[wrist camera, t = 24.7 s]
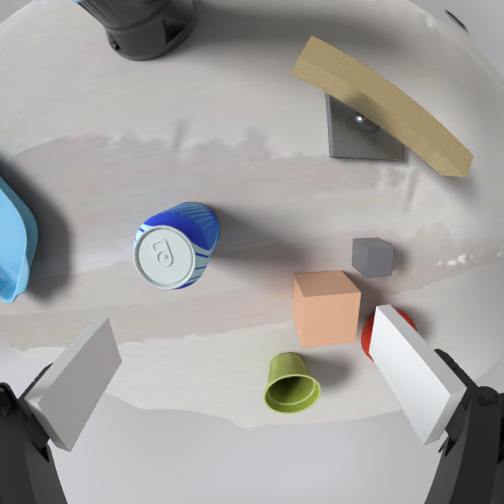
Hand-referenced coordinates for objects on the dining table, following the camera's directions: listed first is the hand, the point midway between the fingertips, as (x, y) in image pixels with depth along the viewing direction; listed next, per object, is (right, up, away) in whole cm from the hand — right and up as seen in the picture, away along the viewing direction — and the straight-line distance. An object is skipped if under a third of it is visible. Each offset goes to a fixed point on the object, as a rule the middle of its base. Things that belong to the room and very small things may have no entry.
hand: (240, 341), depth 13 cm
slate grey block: (+19, +4, +31) cm, 36 cm away
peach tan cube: (+11, -3, +33) cm, 35 cm away
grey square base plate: (+18, +24, +25) cm, 39 cm away
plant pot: (+7, -17, +37) cm, 41 cm away
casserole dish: (-54, +11, +29) cm, 62 cm away
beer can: (-8, +8, +30) cm, 32 cm away
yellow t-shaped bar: (+18, +24, +23) cm, 38 cm away
